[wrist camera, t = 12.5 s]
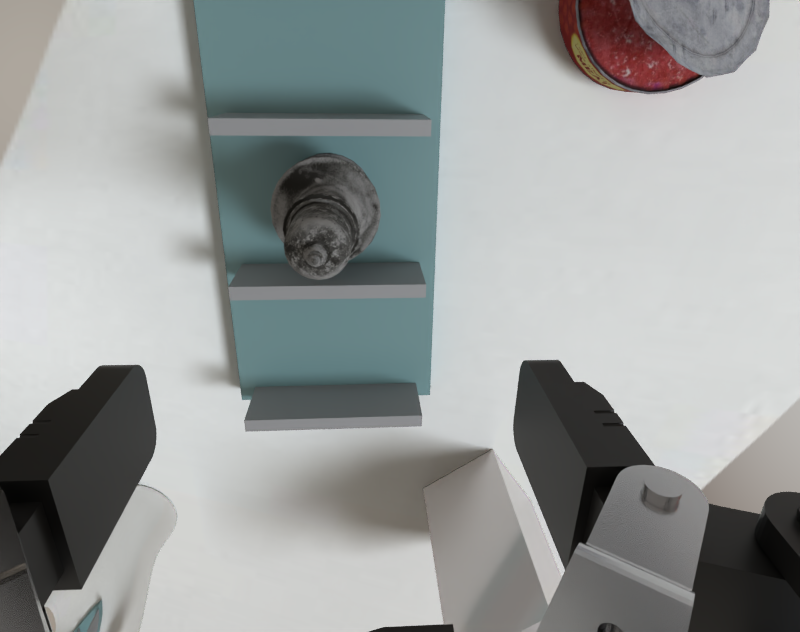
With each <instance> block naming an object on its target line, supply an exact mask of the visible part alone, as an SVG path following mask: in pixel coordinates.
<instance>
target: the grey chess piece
mask: <svg viewBox="0 0 800 632" xmlns="http://www.w3.org/2000/svg"><path fill="white" fill-rule="evenodd" d="M270 210H271V217H272V223H273V226H274V228H275V230H276V233H277V235H278V237H279V238H280V239H281V241H282V242H283V243H284V251H285V256H286V258H287V260H288V263H289V264H290V266H291V267H292V268H293V269H294V270H295V271H296V272H297V273H299V274H300V275H302V276H304V277H306V278H309V279H315V280H322V279H328V278H331V277H333V276H335V275H337V274H338V273H340V272H341V271H342V269H343V268H344V267H345V266H346V265H347V263H348V261H349V260H351V259H353V258H354V257H356V256H357V255H359V254H360V253H362V252H363V251H364V250H365V249H366V248H367V247H368V246H369V244H370V243H371V242H372V241H373V239H374V237H375V235H376V233H377V231H378V227H379V222H380V217H381V213H380V201H379V198H378V195H377V192H376V189H375V187H374V185H373V184H372V183H371V181H370V180H369V178H368V177H367V175H366V174H365V172H364V171H363V169H362V168H361V167H360V166H358V165H357V164H356V163H355V162H354V161H352V160H350V159H348V158H346V157H344V156H342V155H338V154H333V153H323V154H316V155H314V156H311V157H308V158H306V159H305V160H303V161H300V162H298V163H296V164H295V165H294V166H292V167H291V168H289V169H288V170H287V171H286V172H285V173H284V174H283V176H282V177H281V178H280V179H279V181H278V182H277V184H276V187H275V189H274V192H273V194H272V200H271V209H270Z"/></svg>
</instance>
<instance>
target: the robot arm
mask: <svg viewBox="0 0 800 632" xmlns="http://www.w3.org/2000/svg"><path fill="white" fill-rule="evenodd" d="M513 431H514V441H515V446H516V449H517V452H518V454H519V457H520V459H521V462H522V464H523V467H524V469H525V472H526V474H527V477H528V479H529V482H530V484H531V487H532V489H533V491H534V494H535V496H536V499H537V501H538V504H539V506H540V509H541V511H542V514H543V516H544V519H545V521H546V524H547V526H548V529H549V531H550V534H551V536H552V538H553V541H554V543H555V546H556V548H557V551H558V553H559V556H560V558H561V561H562V563H563V566H564V568H565V572H564V574H563V576H562V578H561V581H560V583H559V585H558V587H557V589H556V591H555V593H554V595H553V597H552V600H551V602H550V604H549V606H548V608H547V610H546V612H545V614H544V616H543V618H542V621H541V623H540V625H539V627H538V629H537V631H536V632H800V493H797V492H780V493H775V494H773V495H771V496H769V497H768V498H767V500H766V501H765V504H764V506H763V509H762V511H761V514H756V513H751V512H746V511H741V510H736V509H731V508H726V507H721V506H717V505H712V504H709V503H708V500H707V498H706V496H705V495H704V494H703V492H702V491H701V490H700V489H699V488H698V487H697V486H696V485H695V484H694V483H693V482H691V481H690V480H689V479H687V478H685V477H684V476H682V475H680V474H678V473H676V472H673V471H671V470H668V469H665V468H662V467H657V466H655V465H654V464H653V462H652V461H651V460H650V458H649V457H648V456H647V454H646V453H645V452H644V450H643V449H642V447H641V446H640V445H639V443H638V442H637V441H636V439H635V438H634V437H633V435H632V434H631V432H630V431H629V430H628V428H627V427H626V426H624V425H623V422H622V420H621V419H620V417H619V416H618V415H617V413H614V409H613V408H612V407H611V405H610V404H609V402H608V401H607V400H606V398H605V397H604V396H603V395H602V394H601V393H599V392H598V391H596V390H595V389H593V388H592V387H590V386H589V385H588V384H586V383H585V382H574V381H573V380H572V378H571V377H570V375H569V374H568V372H567V371H566V369H565V368H564V366H563V365H562V363H561V362H560V361H559V360H525V361H523V362H522V365H521V368H520V374H519V382H518V390H517V398H516V406H515V414H514V424H513ZM155 445H156V426H155V421H154V415H153V410H152V405H151V400H150V395H149V390H148V385H147V380H146V375H145V372H144V370H143V368H142V367H141V366H140V365H103V366H99V367H98V368H97V369H96V370H95V371H94V372H93V373H92V375H91V376H90V377H89V378H88V379H87V380H86V381H85V383H84V384H83V385H82V386H81V387H80V388H79V389H78V390H71V391H69V392H67V393H66V394H64V395H62V396H61V397H59V398H57V399H56V400H54V401H52V402H51V403H49V404H48V405H47V406H46V407H45V408H44V409H43V410H42V411H41V412H40V413H39V415H38V416H37V417H36V418H35V419H34V420H33V424H29V425H28V426H27V427H26V429H25V430H24V431H23V432H22V433H21V434H20V438H16V439H15V440H14V441H13V443H12V444H11V445H10V446H9V447H8V448H7V449H6V450H5V451H4V452H3V453H2V454H1V456H0V632H53V630H52V627H51V624H50V621H49V617H48V614H47V612H46V609H45V606H44V605H45V603H46V602H47V600H48V598H49V596H50V595H51V593H52V591H57V590H82V588H83V586H84V584H85V582H86V580H87V578H88V577H89V575H90V573H91V571H92V569H93V567H94V565H95V564H96V562H97V560H98V558H99V556H100V554H101V552H102V550H103V549H104V547H105V545H106V543H107V541H108V539H109V537H110V535H111V534H112V532H113V530H114V528H115V526H116V524H117V522H118V520H119V519H120V517H121V515H122V513H123V511H124V509H125V507H126V506H127V504H128V502H129V500H130V498H131V496H132V494H133V492H134V491H135V489H136V487H137V485H138V483H139V481H140V479H141V477H142V476H143V474H144V472H145V470H146V468H147V466H148V464H149V462H150V461H151V459H152V457H153V454H154V450H155ZM369 632H454V627H453V624H445V625H423V626H401V627H383V628H379V629H376V630H373V631H369Z"/></svg>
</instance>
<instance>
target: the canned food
mask: <svg viewBox="0 0 800 632" xmlns="http://www.w3.org/2000/svg"><path fill="white" fill-rule="evenodd" d="M558 12H559V21H560V30H561V33H562V37H563V40H564V43H565V46H566V49H567V51H568V52H569V54H570V56H571V58H572V60H573V62H574V63H575V64H576V65H577V66H578V68H579V69H580V70H581V71H582V72H583V73H584V74H585V75H586V76H587V77H589V78H590V79H592V80H593V81H594V82H596V83H597V84H600V85H602V86H604V87H607V88H609V89H613V90H619V91H625V92H637V93H644V94H658V93H667V92H671V91H674V90H678V89H682V88H684V87H686V86H688V85H690V84H692V83H694V82H696V81H698V80H700V79H701V78H703V77H704V76H705V77H713V76H718V75H723V74H728V73H732V72H735V71H736V70H737V69H738V68H739V66H740V65H741V64H742V63H743V62H744V61H745V60H746V59H747V58H748V57H749V56H750V55H751V54H752V53H753V52H754V51H755V50H756V48H757V45H758V42H759V39H760V36H761V33H762V31H763V29H764V27H765V25H766V22H767V20H768V18H769V0H559V11H558Z"/></svg>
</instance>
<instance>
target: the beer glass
mask: <svg viewBox="0 0 800 632" xmlns="http://www.w3.org/2000/svg"><path fill="white" fill-rule="evenodd" d="M176 522H177V514H176V510H175V508H174V506H173V504H172V503H171V502H170V500H169V499H168V498H167V497H165V496H164V495H163V494H161V493H160V492H158V491H156V490H154V489H152V488H149V487H145V486H140V485H137V487H136V489H135V491H134V492H133V494H132V496H131V498H130V500H129V502H128V504H127V506H126V507H125V509H124V511H123V513H122V515H121V517H120V519H119V520H118V522H117V524H116V526H115V528H114V530H113V532H112V534H111V535H110V537H109V539H108V541H107V543H106V545H105V547H104V549H103V550H102V552H101V554H100V556H99V558H98V560H97V562H96V564H95V565H94V567H93V569H92V571H91V573H90V575H89V577H88V578H87V580H86V582H85V584H84V586H83V588H82V590H57V591H52V593H51V595H50V596H49V598H48V600H47V602H46V603H45V605H44V606H45V609H46V612H47V614H48V617H49V621H50V624H51V627H52V630H53V632H139V631H140V627H141V623H142V619H143V615H144V610H145V605H146V600H147V595H148V590H149V585H150V579H151V575H152V570H153V567H154V564H155V560H156V558H157V556H158V554H159V552H160V550H161V548H162V547H163V545H164V544H165V542H166V541H167V540H168V538H169V537H170V535H171V534H172V532H173V531H174V529H175V526H176Z"/></svg>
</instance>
